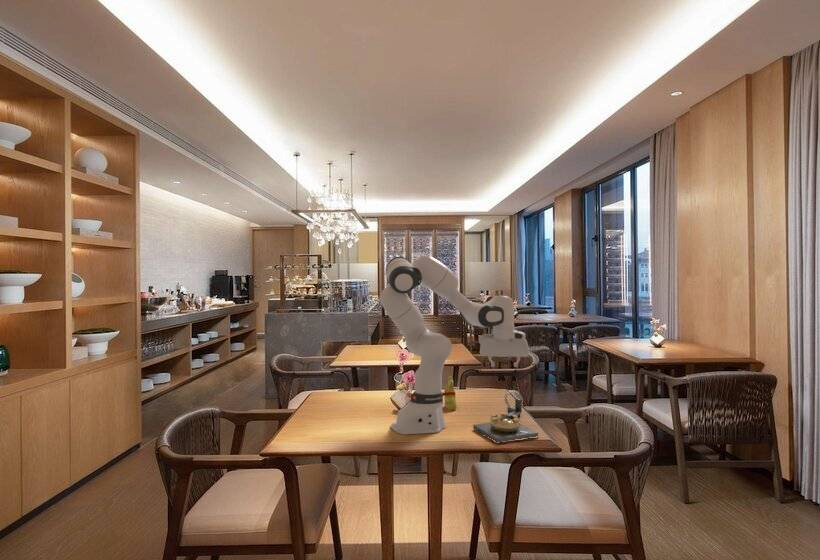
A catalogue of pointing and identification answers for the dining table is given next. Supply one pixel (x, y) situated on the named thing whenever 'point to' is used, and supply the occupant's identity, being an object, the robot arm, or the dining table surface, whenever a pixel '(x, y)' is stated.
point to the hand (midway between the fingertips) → (504, 366)
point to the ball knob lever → (507, 419)
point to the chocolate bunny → (450, 395)
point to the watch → (509, 409)
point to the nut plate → (504, 436)
